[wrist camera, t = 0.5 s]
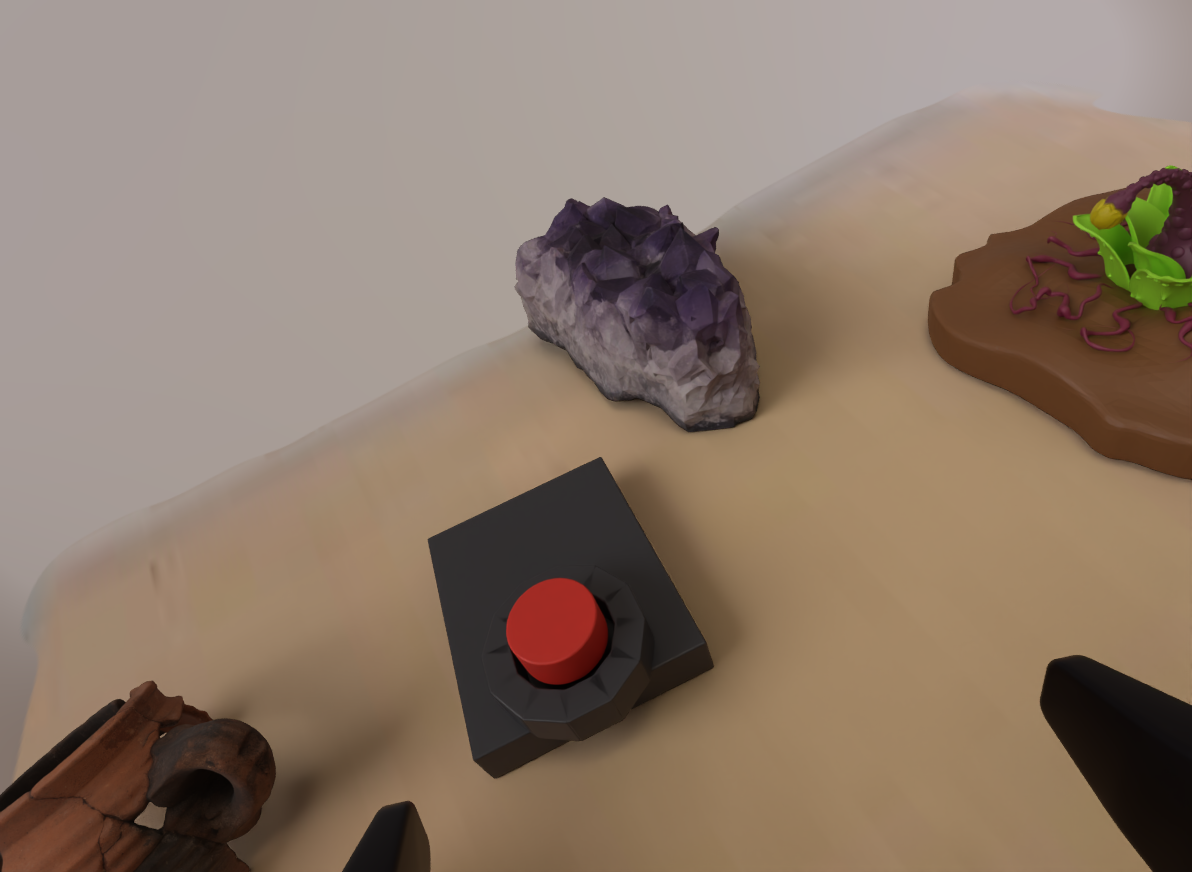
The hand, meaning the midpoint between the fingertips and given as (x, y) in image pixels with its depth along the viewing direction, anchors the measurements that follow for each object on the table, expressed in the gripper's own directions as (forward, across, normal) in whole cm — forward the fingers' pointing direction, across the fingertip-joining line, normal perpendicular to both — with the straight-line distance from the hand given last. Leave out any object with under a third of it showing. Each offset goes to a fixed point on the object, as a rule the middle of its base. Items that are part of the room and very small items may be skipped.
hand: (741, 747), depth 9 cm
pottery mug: (+14, +20, +17) cm, 30 cm away
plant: (+22, -30, +5) cm, 38 cm away
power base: (+18, +3, +12) cm, 22 cm away
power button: (+14, +3, +10) cm, 17 cm away
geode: (+35, -6, +6) cm, 36 cm away
